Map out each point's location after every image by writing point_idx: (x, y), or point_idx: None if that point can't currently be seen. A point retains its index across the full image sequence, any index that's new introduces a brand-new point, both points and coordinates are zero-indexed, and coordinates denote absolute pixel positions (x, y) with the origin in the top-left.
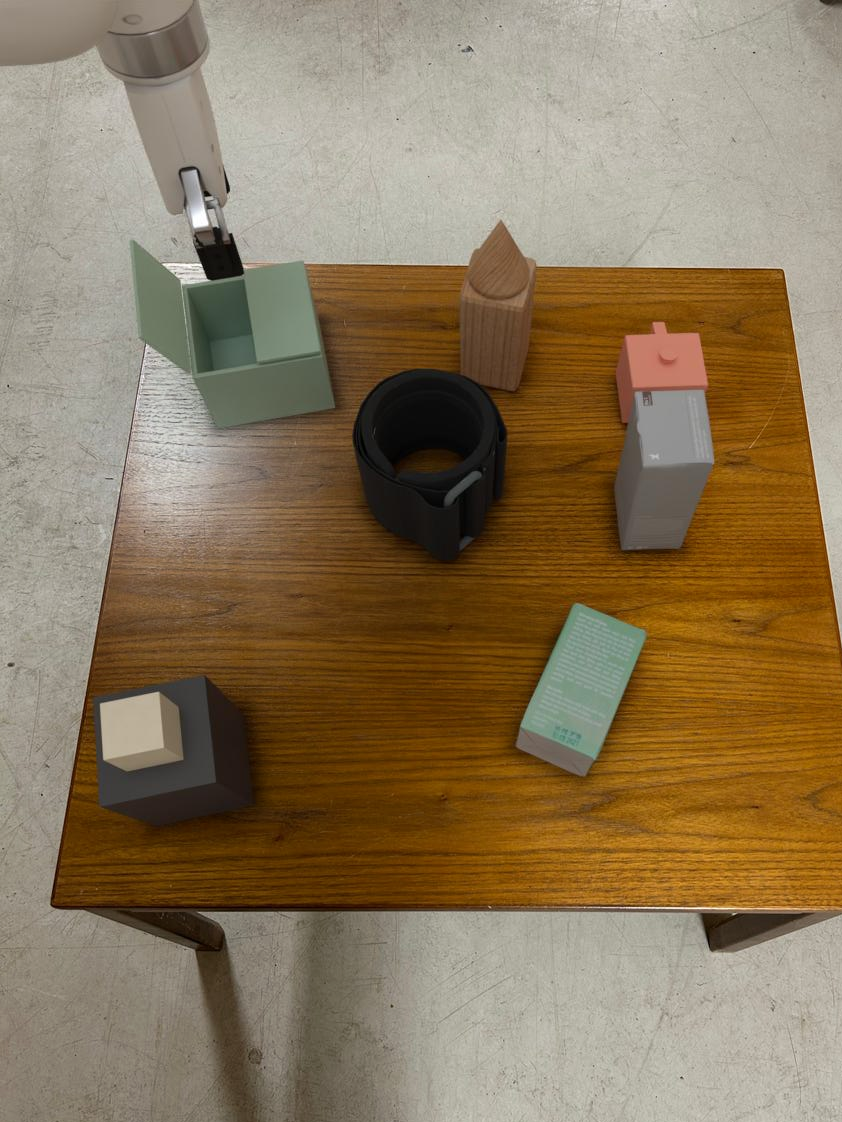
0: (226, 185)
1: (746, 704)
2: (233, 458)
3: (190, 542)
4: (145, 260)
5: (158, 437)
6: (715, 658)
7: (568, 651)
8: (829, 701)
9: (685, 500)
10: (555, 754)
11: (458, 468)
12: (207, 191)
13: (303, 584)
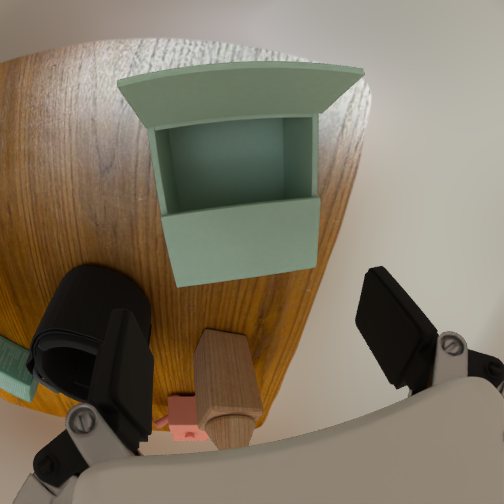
0: (362, 334)
1: (40, 397)
2: (124, 137)
3: (41, 110)
4: (328, 83)
5: (159, 55)
6: (53, 395)
7: (6, 378)
8: (53, 414)
9: None
10: None
11: (54, 386)
12: (367, 300)
13: (17, 214)
